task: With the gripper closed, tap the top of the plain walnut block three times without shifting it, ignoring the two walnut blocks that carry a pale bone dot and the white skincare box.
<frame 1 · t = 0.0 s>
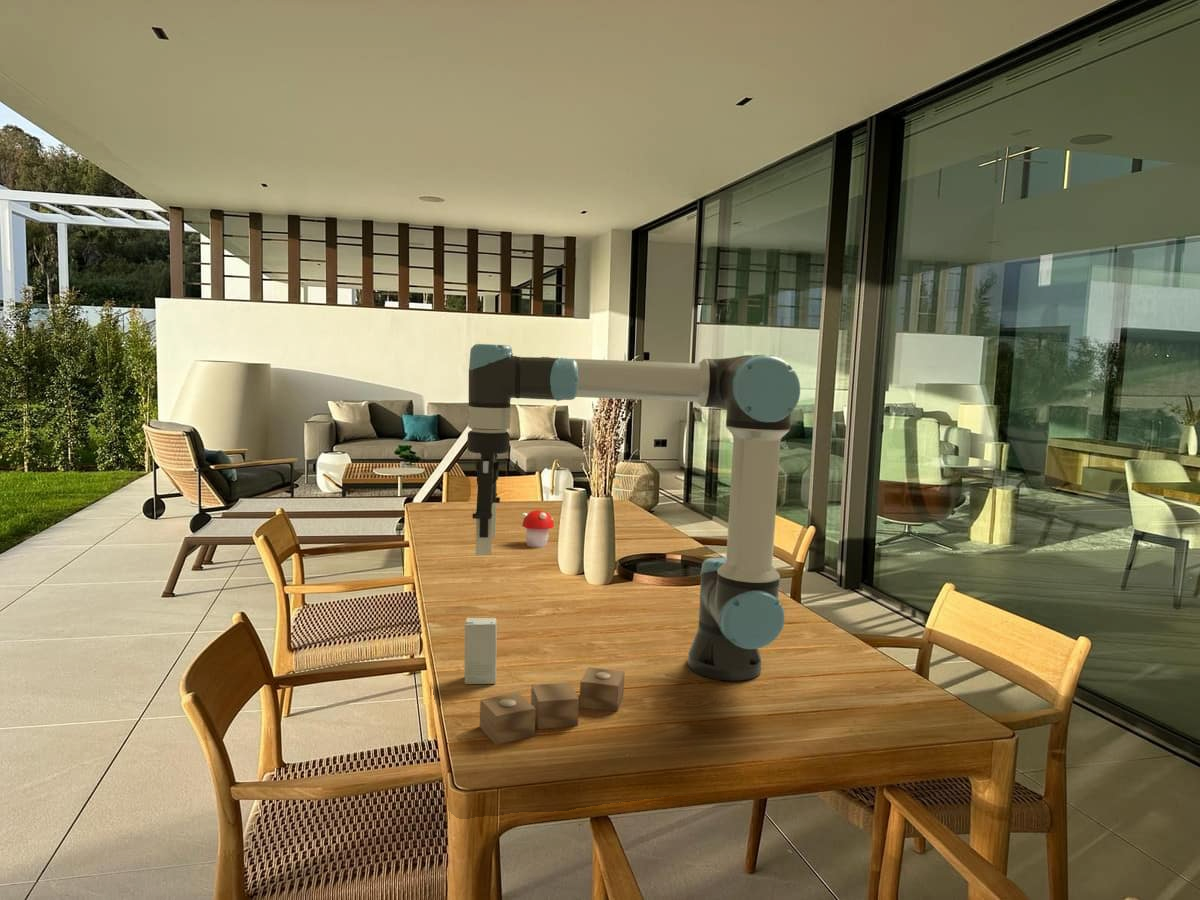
hand: (486, 545, 147), 28 cm above the table, fingers open, 13 cm apart
dotted walnut block A: (601, 702, 148), on the table
plain walnut block: (553, 719, 140), on the table
dotted walnut block B: (506, 732, 135), on the table
mushroom: (537, 545, 269), on the table
skincare box: (479, 681, 155), on the table
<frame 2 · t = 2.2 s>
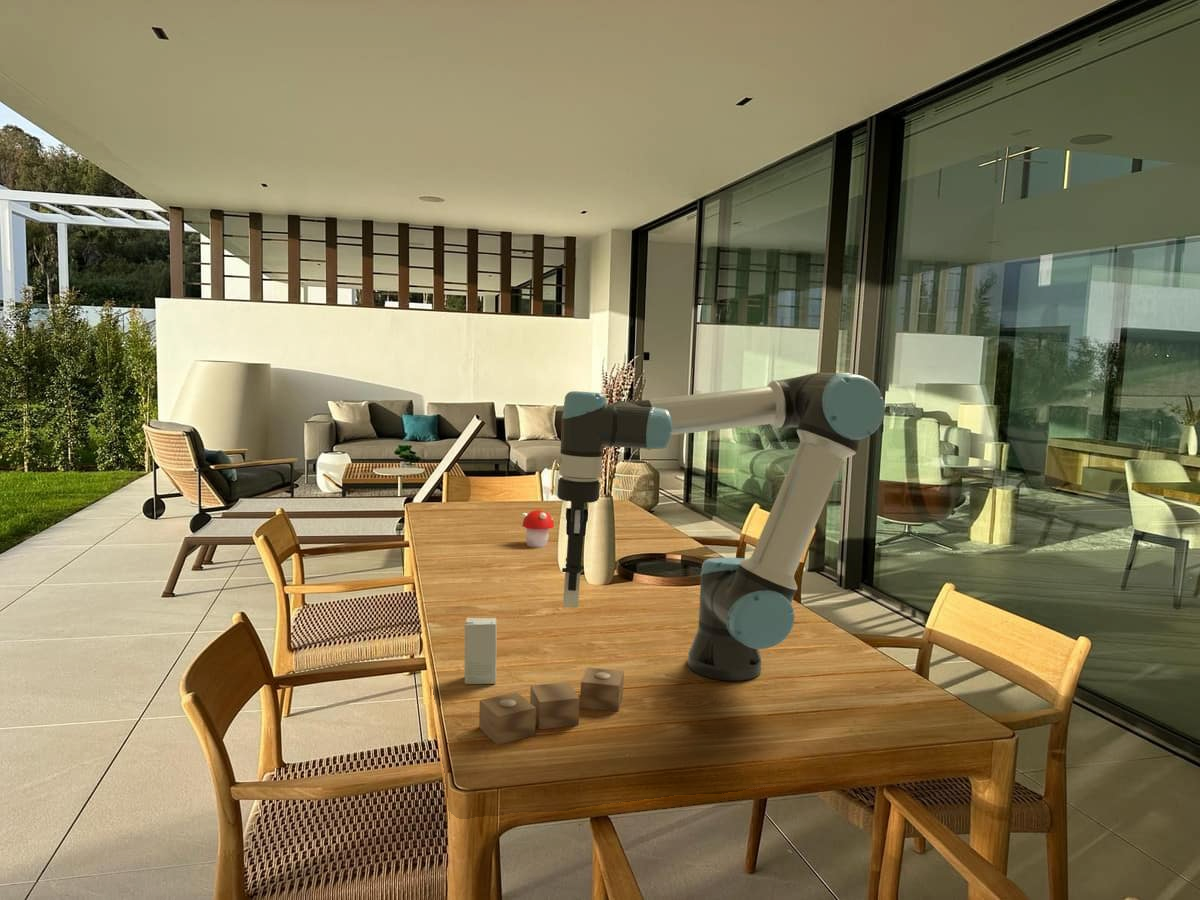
hand: (570, 605, 146), 18 cm above the table, fingers closed
nothing on the table moved.
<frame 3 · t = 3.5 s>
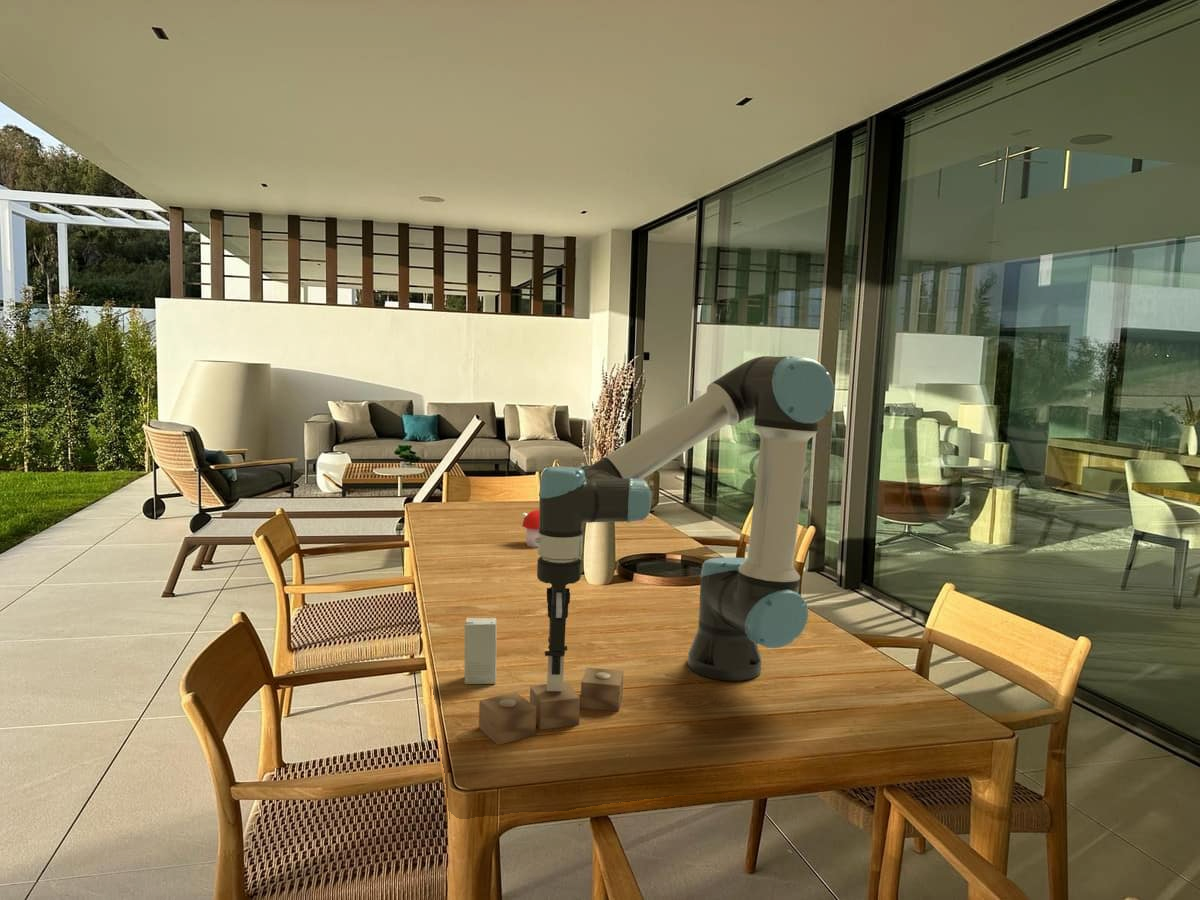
hand: (554, 689, 140), 5 cm above the table, fingers closed
nothing on the table moved.
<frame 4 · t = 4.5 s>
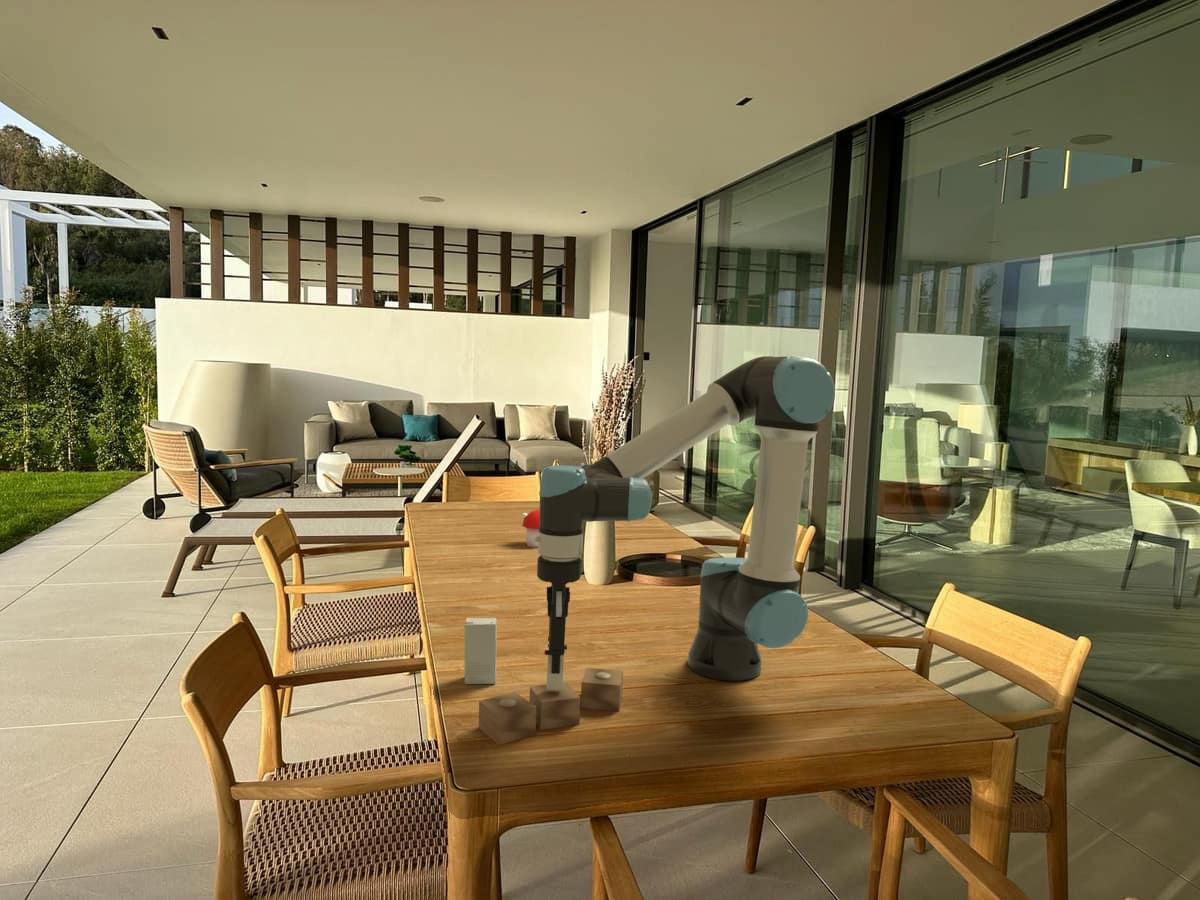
hand: (554, 688, 140), 5 cm above the table, fingers closed
nothing on the table moved.
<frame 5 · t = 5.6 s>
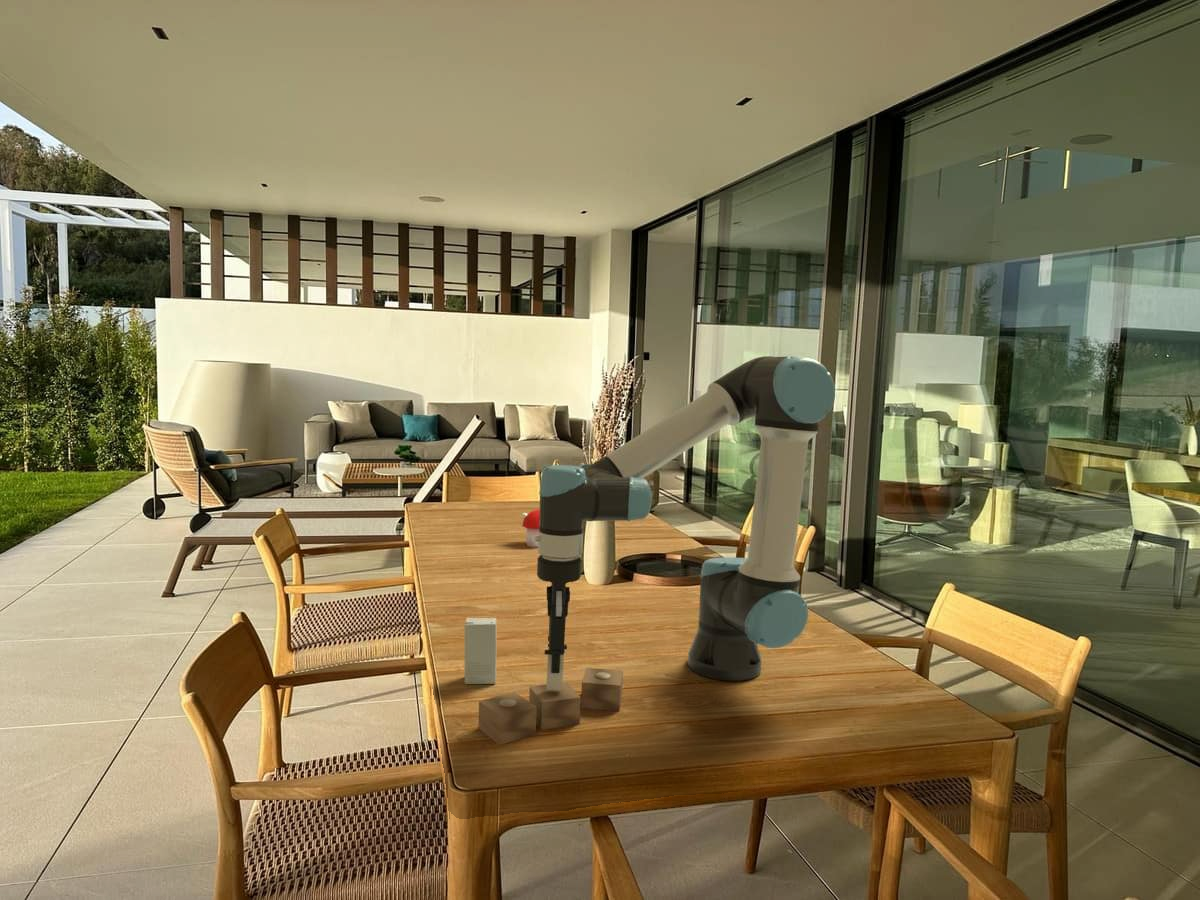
hand: (554, 687, 140), 6 cm above the table, fingers closed
nothing on the table moved.
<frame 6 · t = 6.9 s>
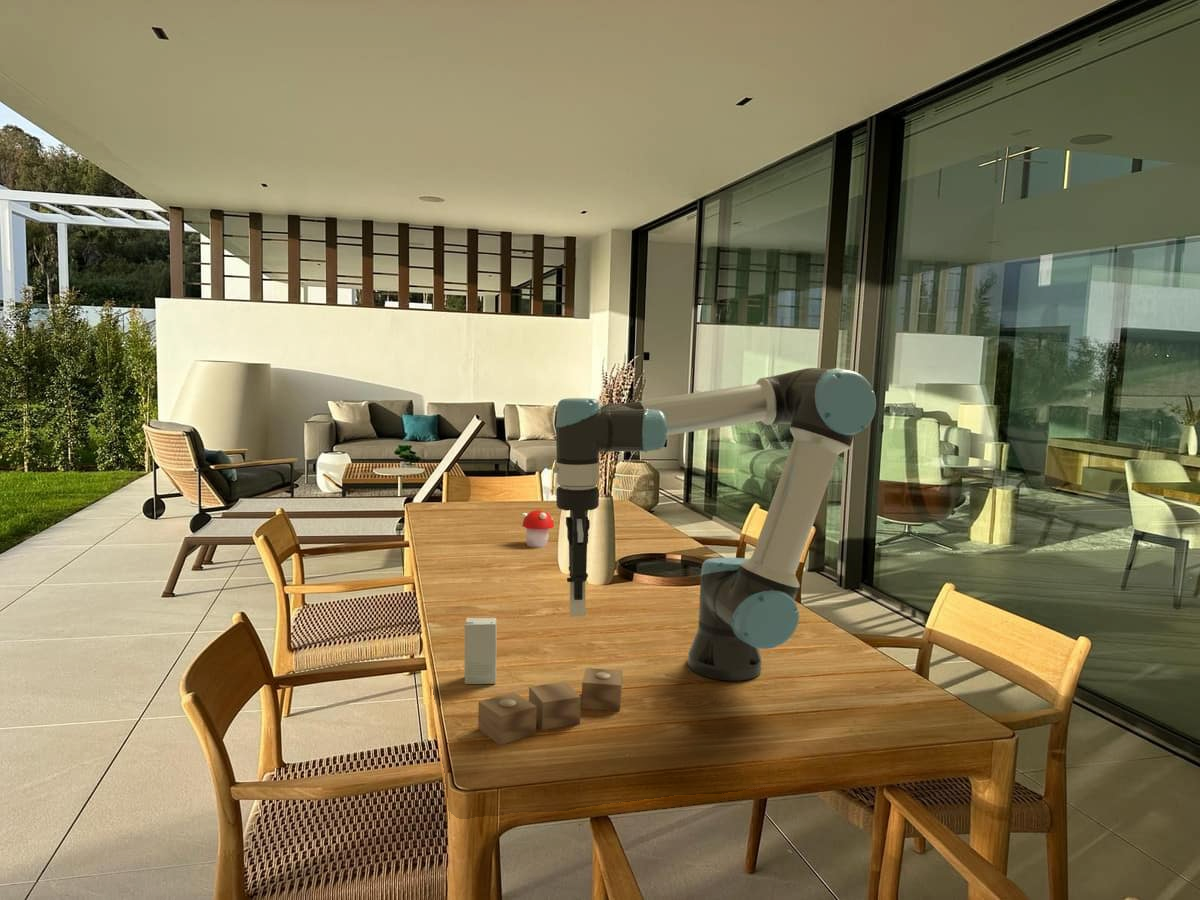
hand: (577, 615, 144), 17 cm above the table, fingers closed
nothing on the table moved.
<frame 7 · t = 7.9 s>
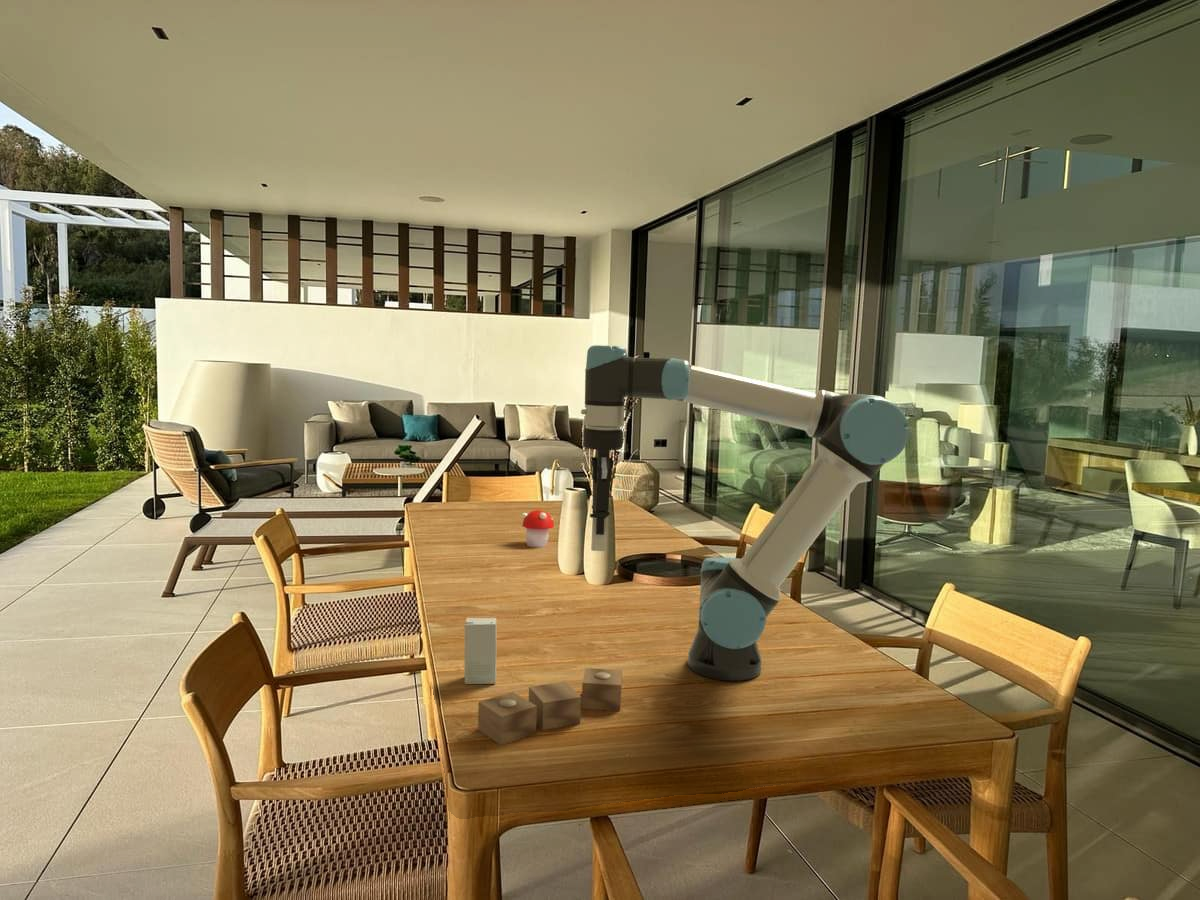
hand: (598, 549, 154), 26 cm above the table, fingers closed
nothing on the table moved.
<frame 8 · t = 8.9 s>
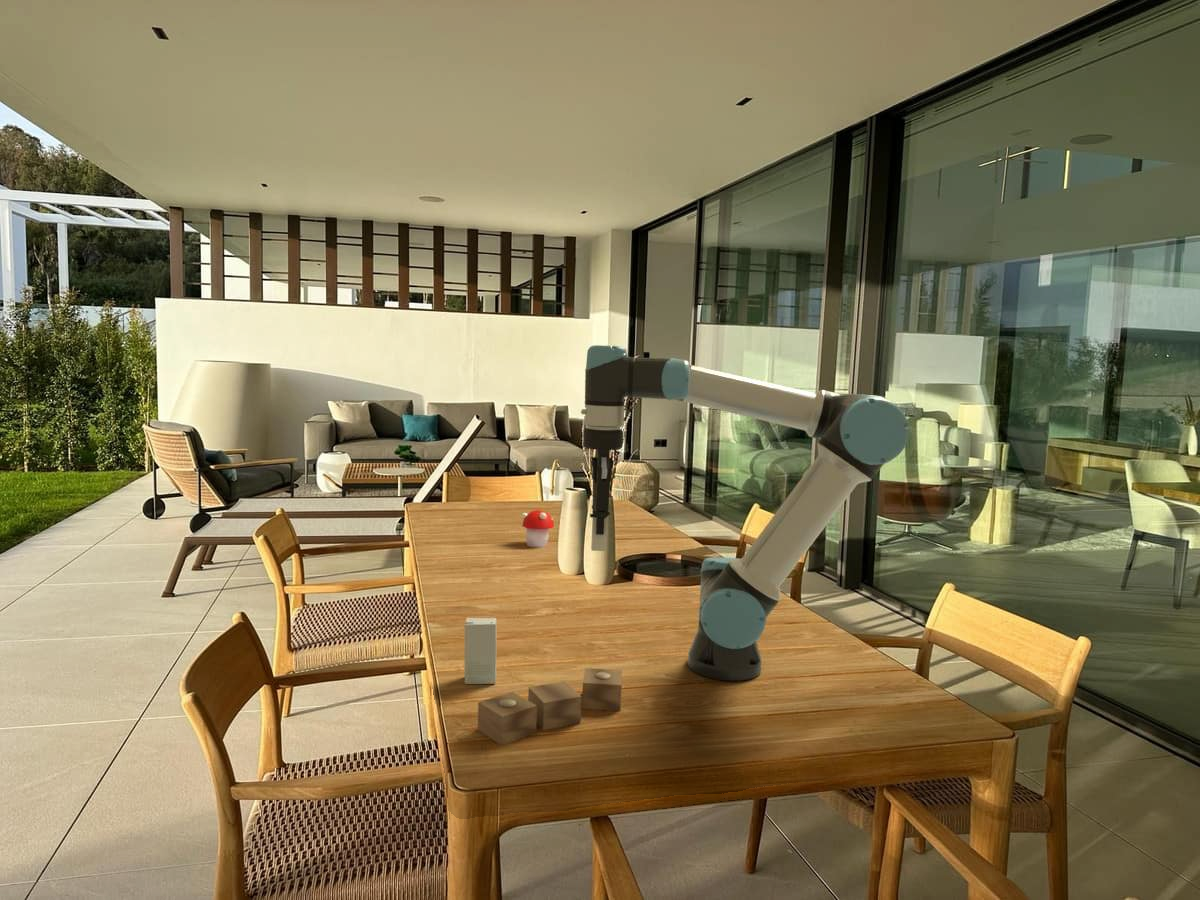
hand: (598, 549, 154), 26 cm above the table, fingers closed
nothing on the table moved.
at the end: plain walnut block moved 0.2 cm from its start; plain walnut block tilted 0°; dotted walnut block B moved 0.2 cm from its start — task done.
